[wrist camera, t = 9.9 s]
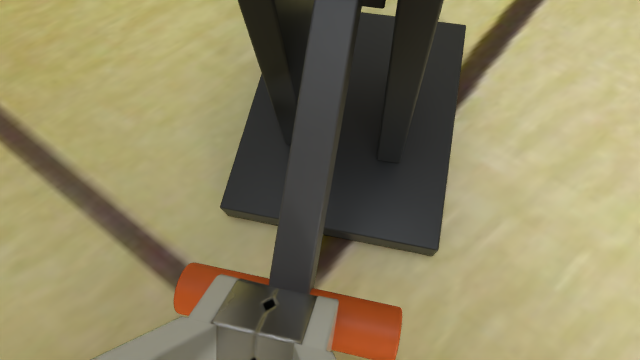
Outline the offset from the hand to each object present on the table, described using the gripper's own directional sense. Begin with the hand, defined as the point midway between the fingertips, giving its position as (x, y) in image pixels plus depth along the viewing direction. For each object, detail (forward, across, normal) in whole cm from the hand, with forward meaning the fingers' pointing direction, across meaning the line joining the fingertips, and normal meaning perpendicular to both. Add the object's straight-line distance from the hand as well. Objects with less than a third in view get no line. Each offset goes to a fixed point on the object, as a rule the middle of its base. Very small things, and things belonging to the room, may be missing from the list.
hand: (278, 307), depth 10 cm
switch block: (+11, 0, -1) cm, 11 cm away
